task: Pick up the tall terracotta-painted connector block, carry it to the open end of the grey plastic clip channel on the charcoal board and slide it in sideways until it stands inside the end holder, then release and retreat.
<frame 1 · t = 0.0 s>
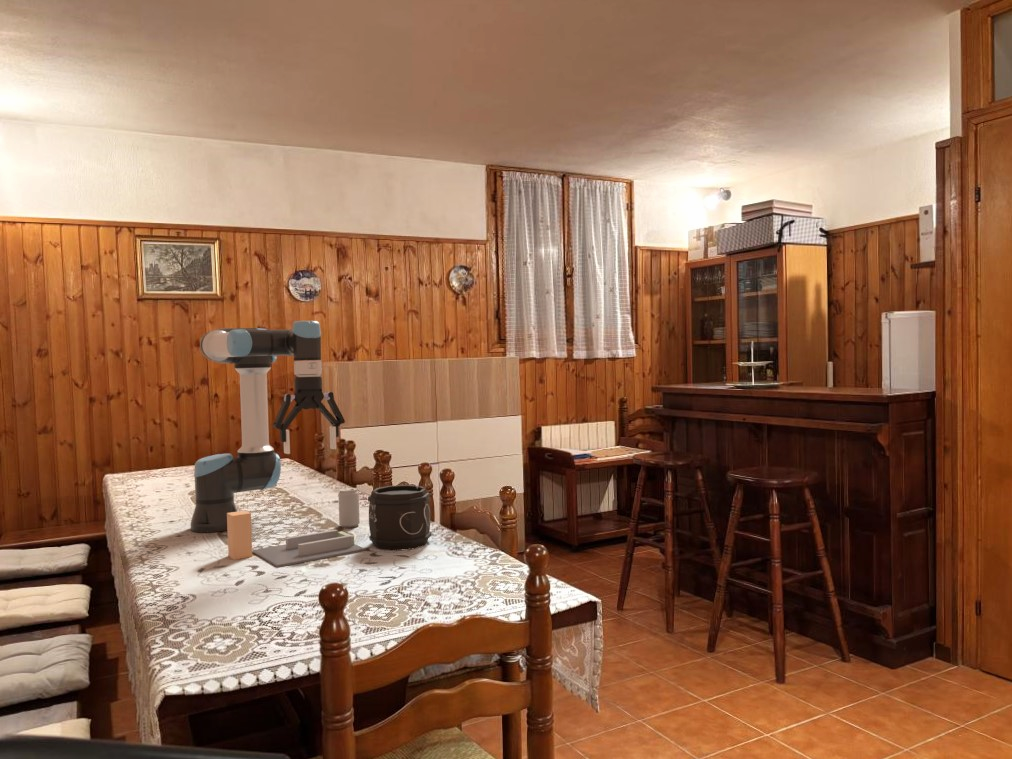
hand: (310, 451, 213), 28 cm above the table, fingers open, 13 cm apart
wooden barrel: (401, 543, 219), on the table
beverage can: (349, 526, 243), on the table
end holder: (317, 549, 214), on the table
connector block: (240, 556, 209), on the table
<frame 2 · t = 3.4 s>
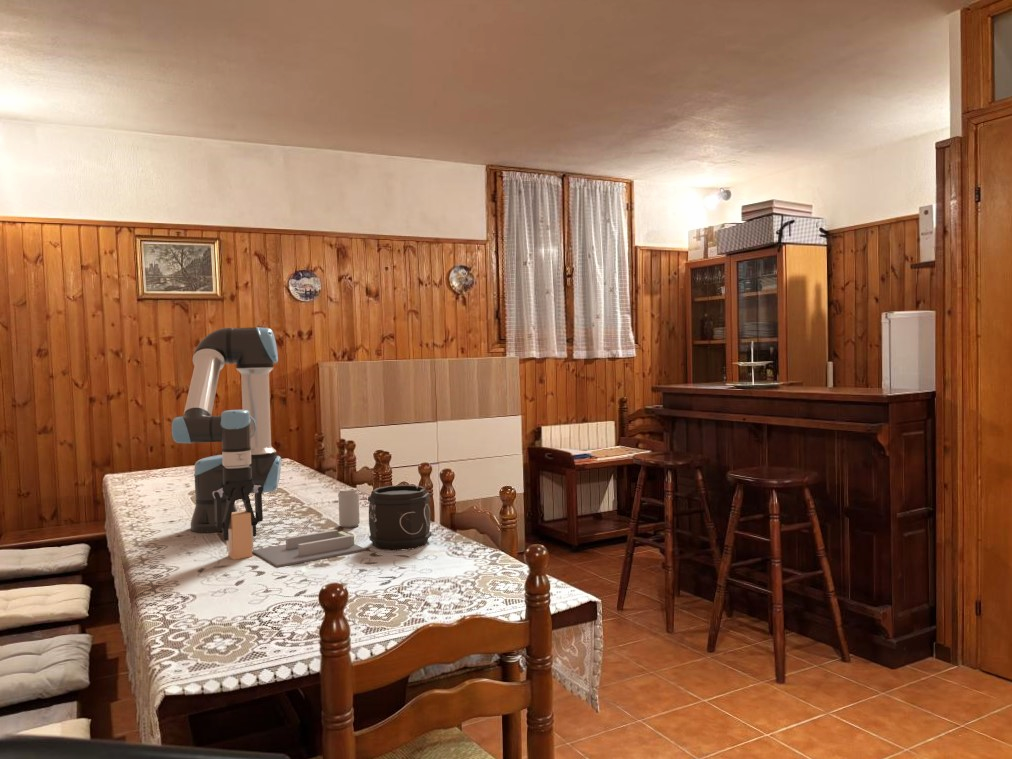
hand: (240, 549, 209), 2 cm above the table, fingers closed on connector block, 5 cm apart
connector block: (240, 556, 209), on the table, touching gripper
everything else where it was.
when the fingers open (3 cm above the table, at t = 8.9 s): connector block drops 1 cm, resting on end holder.
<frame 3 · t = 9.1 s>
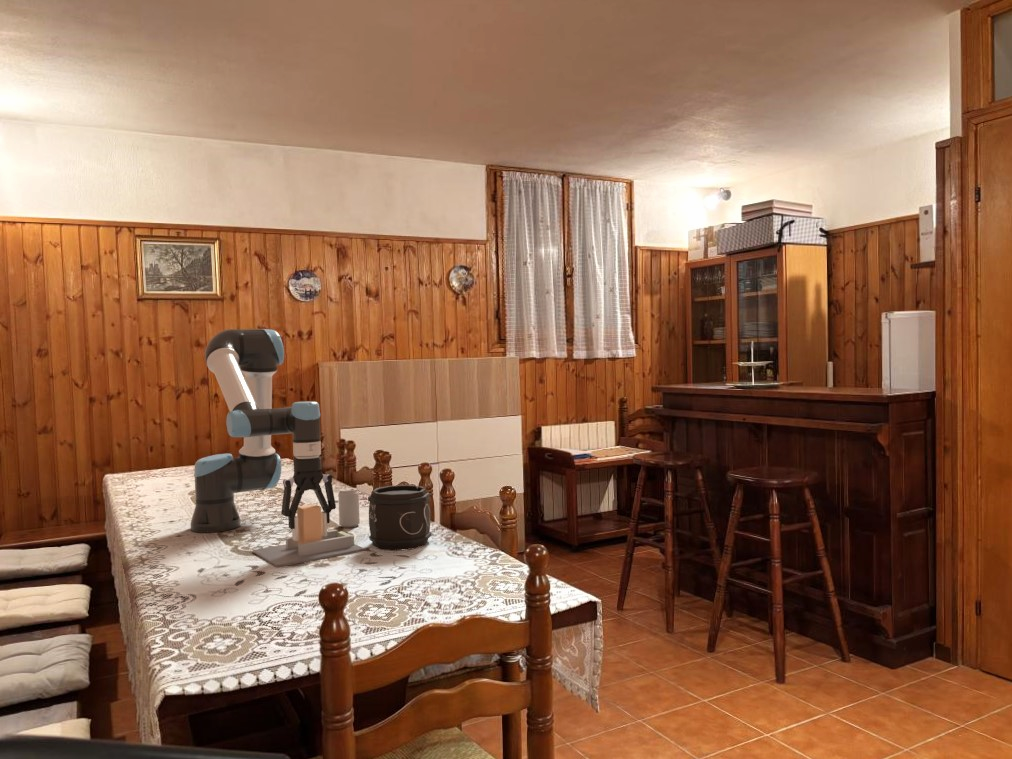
hand: (309, 537, 212), 4 cm above the table, fingers open, 8 cm apart
connector block: (310, 549, 212), point 1 cm above the table, touching end holder
everything else where it was.
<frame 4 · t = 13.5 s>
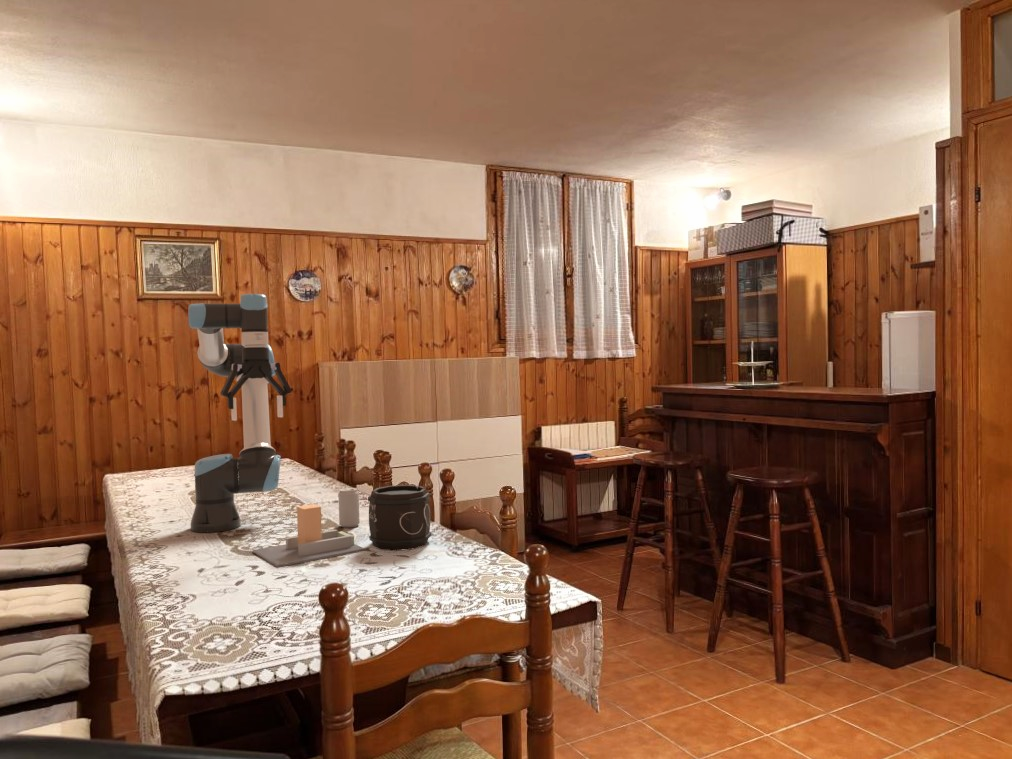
hand: (257, 418, 223), 37 cm above the table, fingers open, 13 cm apart
nothing on the table moved.
at the end: connector block inside the target area on the end holder (2.0 cm from its centre), point 0.6 cm above the end holder's base; connector block tilted 0°; the gripper is holding nothing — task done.
